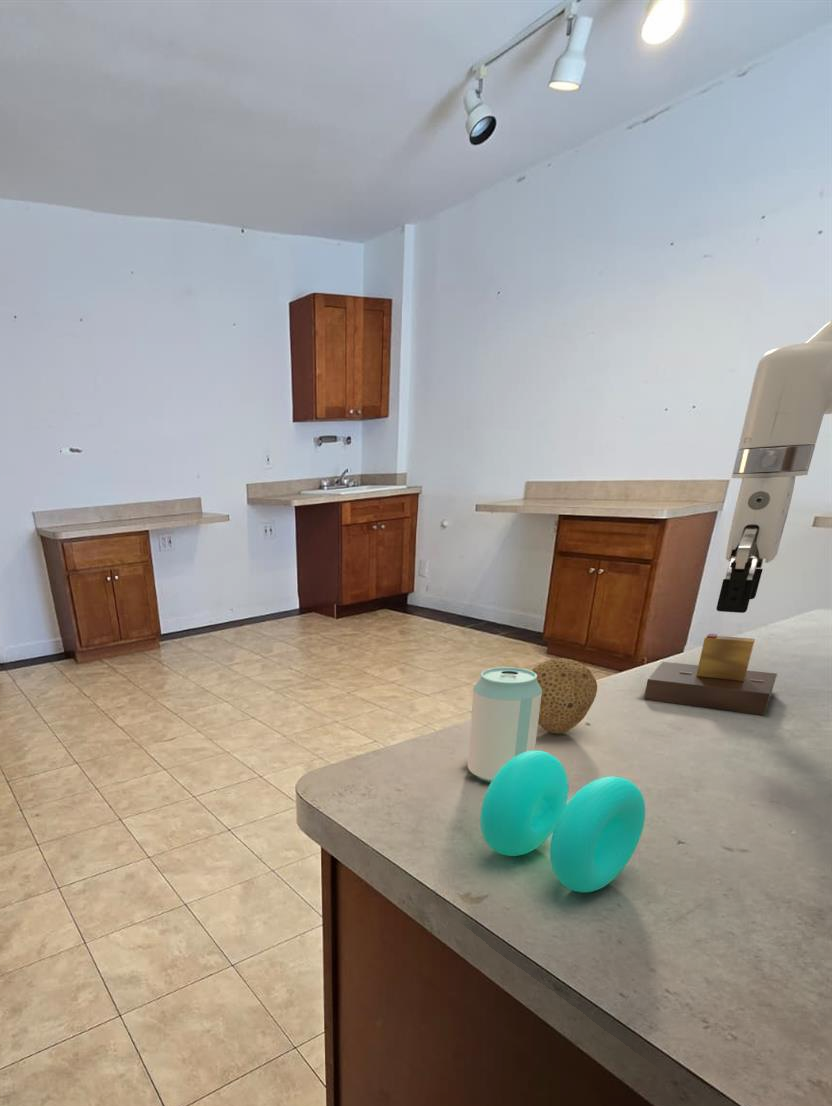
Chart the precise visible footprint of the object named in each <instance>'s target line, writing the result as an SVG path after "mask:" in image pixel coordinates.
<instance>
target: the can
mask: <svg viewBox="0 0 832 1106" xmlns="http://www.w3.org/2000/svg"><path fill="white" fill-rule="evenodd" d="M541 696H542V689H541V687H540V685H539V684H538V682H537V674H536V673H534V672H533V671H531V670H530V669H527V668H522V667H512V666H500V667H491V668H487V669H485V670H483V671H482V672H480V678H479V679H478V680H477V681H476V683H475V684H474V686H473V690H472V703H471V716H470V728H469V729H470V731H469V740H468V741H469V742H468V755H467V756H468V757H467V768H468V771H469V772H470V773H471V774H473V775H474V776H476V777H477V778H478V779H480V780H483V781H484V782H488V783H491V782H492V780H493V778H494V777H495V775H496V774H497V773H498V771H499V770H500V769H501V768H502V767H503V766H504V765H505V764H506V763H507V762H508V761H509V760H511V759H512V758H514V757H515V756H517V755H519V754H521V753H523V752H527V751H533V750H536V745H537V744H536V743H537V735H538V728H539V724H538V720H539V712H540V704H541Z"/></svg>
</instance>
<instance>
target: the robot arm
mask: <svg viewBox="0 0 832 1106" xmlns="http://www.w3.org/2000/svg"><path fill="white" fill-rule="evenodd" d="M750 391H751V392H750V395H749V400H748V404H747V409H746V412H745V416H744V421H743V426H742V430H741V433H740V434H741V435H740V438H739V443H738V447H737V448H738V449H737V451H736V457H735V460H734V463H733V464H734V465H733V469H732V473H731V479H741V483H740V487H739V491H738V495H737V499H736V502H735V506H734V513H733V516H732V521H731V524H730V525H731V526H730V530H729V535H728V541H727V546H726V552H725V559H726V560H727V561H728V562H729V564H728V567H727V570H726V573H725V578H723V579H722V583H721V588H720V592H719V596H718V600H717V604H716V607H715V608H716V609H715V610H716V611H717V612H722V613H736V614H737V613H739V614H744V613H746V612H747V611H748V608H749V604H750V600H753V599H755V598H756V596H757V592H758V589H759V584H760V581H761V577H762V574H763V570H764V569H763V568H762V566H763V563H764V562H765V563H766V564H768V563H770V562H772V561H773V560H774V559H776V556H777V555H778V552H779V550H780V549H779V548H780V544H781V541H782V536H783V533H784V529H785V525H786V522H787V518H788V514H789V509H790V506H791V503H792V502H791V501H792V499H793V494H794V489H795V482H796V477H800V476H807V475H808V473H809V471H810V470H809V469H810V467H811V463H812V459H813V455H814V451H815V448H816V444H817V441H818V437H819V433H820V430H821V426H822V422H823V420H824V415H830V414H831V415H832V319H831V320H830V321H829V322H827V323H826V324H825V325H824V326H823V327H822V328H820V329H819V330H818V331H817V332H816V333H815V334H814V335H813V336H812V337H811V338H809V339H808V340H807V341H806V342H801V343H793V344H789V345H788V344H787V345H784V346H779V347H776V348H773V349H771V350H769V351H767V352H765V354H763V356H762V357H761V358H760V360H759V361H758V364H757V367H756V370H755V374H754V377H753V382H752V387H751V390H750ZM764 559H765V561H764Z"/></svg>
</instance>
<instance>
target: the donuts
mask: <svg viewBox="0 0 832 1106" xmlns="http://www.w3.org/2000/svg"><path fill="white" fill-rule="evenodd" d="M489 783H490V784H489V785H488V787H487V789H486V792H485V794H484V797H483V799H482V804H481V809H480V816H479V817H480V819H479V821H480V830H481V833H482V836H483V839H484V840H485V842H486V844H487V845H488V846H489V847H490V848H491V849H492V850H493V851H494V852H496V853H498V854H500V855H502V856H503V855H504V856H507V857H516V856H517V857H519V856H522V855H527V854H528V853H531V852H533V851H534V850H536V849H537V848H539V847H540V846H542V845H543V844H544V843H545V842H546V841H547V840H548V839H549V838H550V837H551V840H550V844H549V860H550V865H551V868H552V871H553V874H554V875H555V877H556V879H557V880H558V882H560V883H561V884H562V885H563V886H564V887H565V888H566V889H569V890H571V891H574V892H577V893H591V892H595V891H598V890H601V889H603V888H604V887H606V886H608V885H609V884H610V883H612V882H613V880H615V879H616V878H617V877H618V875H620V873H622V871H623V870H624V869H625V867H626V865H627V864H628V863H629V862H630V860H631V859H632V856H633V855H634V852H635V850H636V849H637V847H638V845H639V841H640V839H641V836H642V834H643V830H644V827H645V826H644V825H645V821H646V803H645V800H644V799H645V798H644V796H643V794H642V792H641V790H640V788H639V787H638V786H637V785H636V784H635V783H634V782H632V780H631V781H630V780H629V779H627V778H624V777H621V776H615V775H613V776H603V777H600V778H597V779H595V780H592V781H590V782H589V783H587V784H585V785H584V786H583V787H581V788H580V789H579V790H578V791H577V792H576V793H574V795H573V796H572V797H571V798H570V799H569V801H568V796H569V780H568V774H567V772H566V769H565V767H564V766H563V764H562V763H561V761H560V760H559V759H558V758H557V757H556V756H554V755H552V754H551V753H550V752H547V751H543V750H536V749H535V750H533V751H527V752H523V753H521V754H519V755H517V756H515V757H514V758H512V759H511V760H509V761H508V762H507V763H506V764H505V765H504V766H503V767H502V768H501V769H500V770H499V771H498V773H497V774H496V775H495V777H494V778H493V780H492V782H489Z"/></svg>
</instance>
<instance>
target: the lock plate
mask: <svg viewBox="0 0 832 1106" xmlns="http://www.w3.org/2000/svg"><path fill="white" fill-rule="evenodd" d="M698 665H699V664H688V663H679V662H671V661H670V662H668V661H661V662H660V663H659V665H658V666H657V667H656V668H655V670H654V671H653V672H652V673H651V675H650V676H648V678H647V681H646V685H645V692H644V696H643V699H644V700H650V701H655V702H656V701H657V702H664V703H670V704H677V705H684V706H685V705H686V706H692V707H693V706H694V707H701V708H707V709H714V710H723V711H730V712H737V713H745V714H752V715H759V716H765V713H766V711H767V708H768V706H769V702H770V699H771V696H772V693H773V689H774V686H775V682H776V679H777V676H778V673H775V672H767V671H757V670H748V669H747V672H746V676H745V679H744V681H737V680H728V679H719V678H710V677H701V676H696V674H697V670H698Z"/></svg>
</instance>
